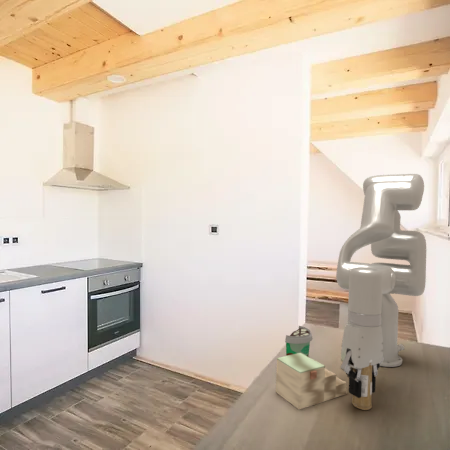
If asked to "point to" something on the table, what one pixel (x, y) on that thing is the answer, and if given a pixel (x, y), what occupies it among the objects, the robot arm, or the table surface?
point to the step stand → (306, 381)
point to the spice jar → (364, 389)
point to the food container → (298, 342)
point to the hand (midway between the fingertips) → (361, 391)
